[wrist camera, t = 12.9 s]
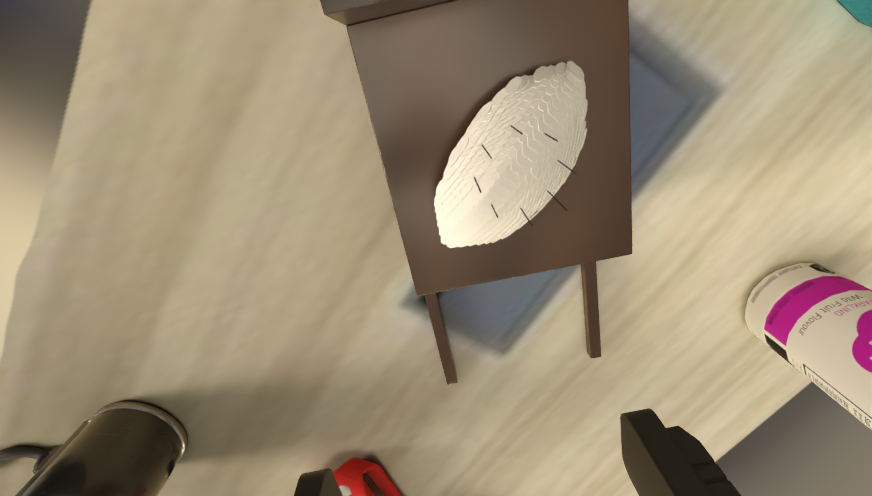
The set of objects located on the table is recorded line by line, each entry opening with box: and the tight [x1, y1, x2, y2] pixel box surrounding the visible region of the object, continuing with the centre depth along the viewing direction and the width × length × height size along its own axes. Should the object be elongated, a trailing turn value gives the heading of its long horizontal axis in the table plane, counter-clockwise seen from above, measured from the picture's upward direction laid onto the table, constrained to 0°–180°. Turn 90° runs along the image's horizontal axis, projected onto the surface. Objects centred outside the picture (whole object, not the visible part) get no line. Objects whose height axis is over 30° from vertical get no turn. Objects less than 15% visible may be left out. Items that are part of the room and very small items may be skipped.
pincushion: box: [434, 61, 588, 248], centre depth 21 cm, size 12×6×6 cm, turn 146°
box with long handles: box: [320, 0, 632, 385], centre depth 28 cm, size 15×32×14 cm, turn 12°
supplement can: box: [745, 263, 872, 430], centre depth 32 cm, size 8×8×15 cm
